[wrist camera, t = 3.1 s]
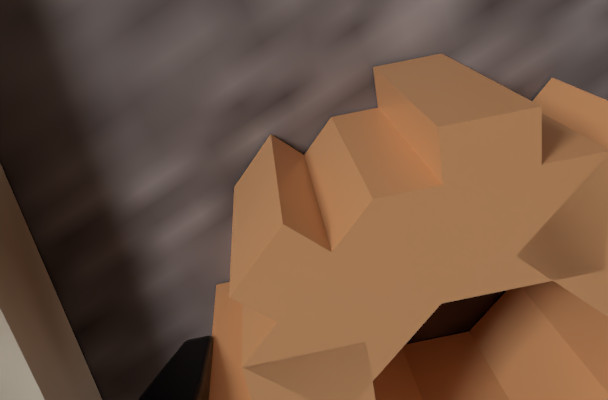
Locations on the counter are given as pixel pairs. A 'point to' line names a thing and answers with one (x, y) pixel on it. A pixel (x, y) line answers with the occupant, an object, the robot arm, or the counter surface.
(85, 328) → the counter surface
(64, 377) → the gear board
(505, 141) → the orange gear
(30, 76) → the counter surface
